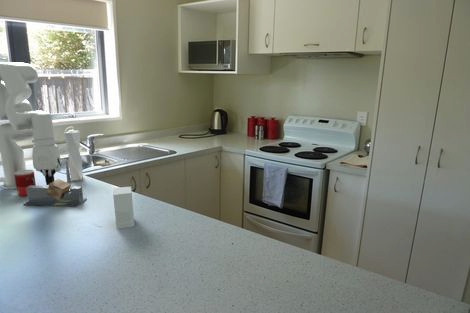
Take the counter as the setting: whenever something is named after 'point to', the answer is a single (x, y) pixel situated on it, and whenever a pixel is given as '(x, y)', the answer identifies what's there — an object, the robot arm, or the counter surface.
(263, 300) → the counter surface
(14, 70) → the robot arm
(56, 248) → the counter surface
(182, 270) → the counter surface
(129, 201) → the small box
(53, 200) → the notched rail
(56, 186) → the tan slotted wooden block
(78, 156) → the skyscraper
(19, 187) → the canned food
